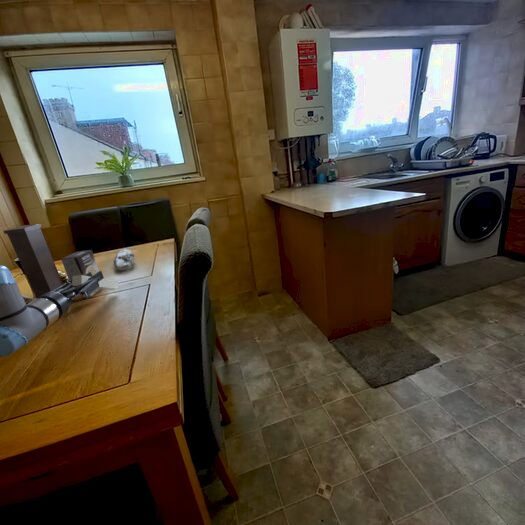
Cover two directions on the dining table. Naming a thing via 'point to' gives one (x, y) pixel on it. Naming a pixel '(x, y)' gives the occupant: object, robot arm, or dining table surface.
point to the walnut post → (35, 258)
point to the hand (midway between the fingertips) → (96, 275)
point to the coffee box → (80, 265)
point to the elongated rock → (124, 259)
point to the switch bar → (102, 284)
